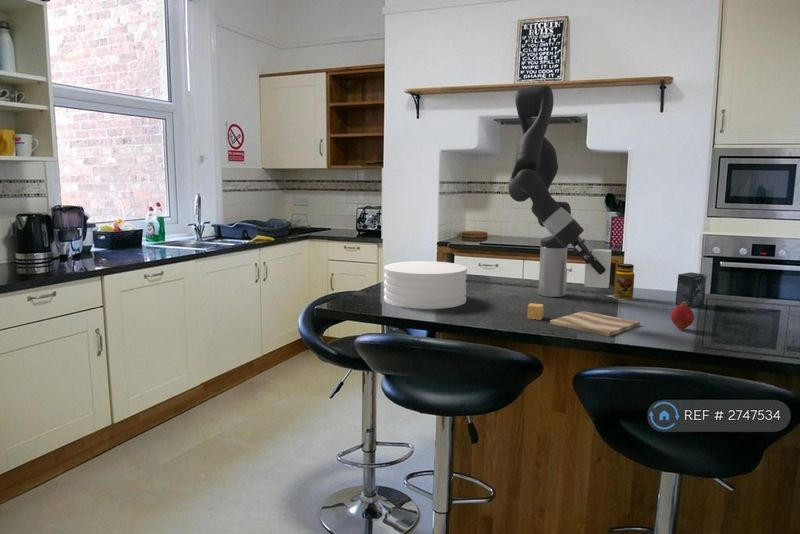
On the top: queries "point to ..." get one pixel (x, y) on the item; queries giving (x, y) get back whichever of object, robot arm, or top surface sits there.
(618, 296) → the condiment
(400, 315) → the top surface
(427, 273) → the plate stack
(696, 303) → the box
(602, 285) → the light grey rectangular block
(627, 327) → the board
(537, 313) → the fully visible block
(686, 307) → the onion
